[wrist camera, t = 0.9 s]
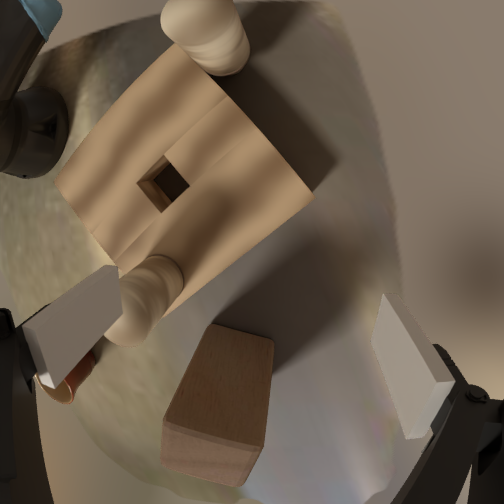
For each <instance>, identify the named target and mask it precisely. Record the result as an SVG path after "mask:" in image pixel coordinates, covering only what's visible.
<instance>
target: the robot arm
mask: <svg viewBox="0 0 504 504" xmlns="http://www.w3.org/2000/svg"><path fill="white" fill-rule="evenodd" d="M61 15H62V6H61V4H60V3H59V2H58V1H57V0H0V172H3V173H6V174H9V175H13V176H17V177H19V178H23V179H30V178H36V177H40V176H43V175H45V174H46V173H48V172H49V171H50V170H51V169H52V168H53V167H54V166H55V164H56V163H57V161H58V159H59V158H60V156H61V154H62V151H63V149H64V146H65V142H66V138H67V133H68V113H67V108H66V104H65V102H64V100H63V98H62V96H61V95H60V94H59V93H58V92H57V91H56V90H54V89H52V88H47V87H41V86H37V87H32V88H29V89H26V90H23V91H19V92H17V91H18V89H19V87H20V85H21V83H22V81H23V79H24V77H25V76H26V74H27V72H28V70H29V68H30V67H31V65H32V63H33V62H34V60H35V58H36V57H37V55H38V53H39V52H40V50H41V48H42V47H43V45H44V44H45V42H47V41H48V39H49V35H50V34H51V32H52V30H53V29H54V27H55V26H56V24H57V23H58V21H59V20H60V18H61ZM122 314H123V310H122V302H121V294H120V284H119V274H118V266H112V265H104V266H103V267H101V268H100V269H98V270H97V271H96V272H94V273H93V274H91V275H90V276H88V277H87V278H86V279H84V280H83V281H81V282H80V283H78V284H77V285H76V286H74V287H73V288H71V289H70V290H69V291H67V292H66V293H65V294H63V295H62V296H60V297H59V298H58V299H56V300H55V301H54V302H52V303H50V304H48V305H45V306H44V307H43V308H41V309H40V310H39V311H38V312H36V313H35V314H33V316H31V317H29V318H28V319H27V320H26V321H24V322H23V323H22V324H20V325H19V326H18V327H16V328H15V325H14V322H13V318H12V315H11V311H10V310H9V309H6V308H0V504H54V501H53V498H52V494H51V490H50V486H49V481H48V477H47V472H46V468H45V463H44V457H43V452H42V445H41V439H40V431H39V424H38V415H37V404H36V391H35V382H34V379H33V376H34V375H35V374H36V373H38V375H39V378H40V380H41V383H42V384H44V385H47V386H49V387H51V388H54V389H56V387H57V386H58V385H59V384H60V383H61V382H62V380H63V379H64V378H65V377H66V376H67V375H68V374H69V372H70V371H71V370H72V369H73V368H74V367H75V366H76V365H77V363H78V362H79V361H80V360H81V359H82V358H83V357H84V356H85V354H86V353H87V352H88V351H89V350H90V349H91V348H92V347H93V346H94V344H95V343H96V342H97V341H98V340H99V339H100V338H101V337H102V336H103V335H104V334H105V332H106V331H107V330H108V329H109V328H110V327H111V326H112V325H113V324H114V323H115V322H116V321H117V320H118V318H119V317H120V316H121V315H122ZM370 342H371V344H372V347H373V349H374V352H375V354H376V357H377V359H378V362H379V365H380V367H381V370H382V373H383V375H384V378H385V381H386V383H387V386H388V389H389V392H390V394H391V397H392V400H393V403H394V406H395V409H396V412H397V414H398V417H399V420H400V423H401V426H402V429H403V432H404V435H405V439H413V438H421V437H424V436H425V434H426V432H427V431H428V429H429V428H430V426H431V428H432V431H433V433H434V434H433V436H432V437H431V439H430V440H429V442H428V443H427V445H426V446H425V448H424V449H423V450H422V455H421V457H420V459H419V460H418V462H417V464H416V465H415V467H414V469H413V470H412V472H411V474H410V475H409V477H408V478H407V480H406V482H405V483H404V485H403V486H402V488H401V489H400V491H399V492H398V494H397V495H396V497H395V498H394V499H393V501H392V502H391V504H455V503H456V501H457V499H458V497H459V495H460V492H461V490H462V488H463V485H464V483H465V480H466V478H467V475H468V473H469V470H470V467H471V465H472V469H471V479H470V488H469V495H468V502H467V504H504V399H503V400H495V399H490V397H489V395H488V394H487V392H486V391H485V390H484V389H482V388H480V387H479V386H476V385H469V384H468V383H467V381H466V380H465V378H464V377H463V375H462V374H461V372H460V371H459V369H458V367H457V366H455V363H454V362H453V360H451V357H450V355H449V354H448V353H447V351H446V350H445V349H443V348H442V347H441V346H440V345H438V344H432V343H431V342H430V340H429V339H428V337H427V336H426V334H425V333H424V331H423V330H422V328H421V327H420V325H419V324H418V322H417V321H416V320H415V318H414V317H413V315H412V314H411V312H410V311H409V310H408V308H407V307H406V305H405V304H404V303H403V301H402V300H401V298H400V297H399V296H398V294H392V293H383V295H382V300H381V304H380V308H379V312H378V315H377V319H376V323H375V327H374V330H373V334H372V337H371V341H370Z"/></svg>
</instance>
